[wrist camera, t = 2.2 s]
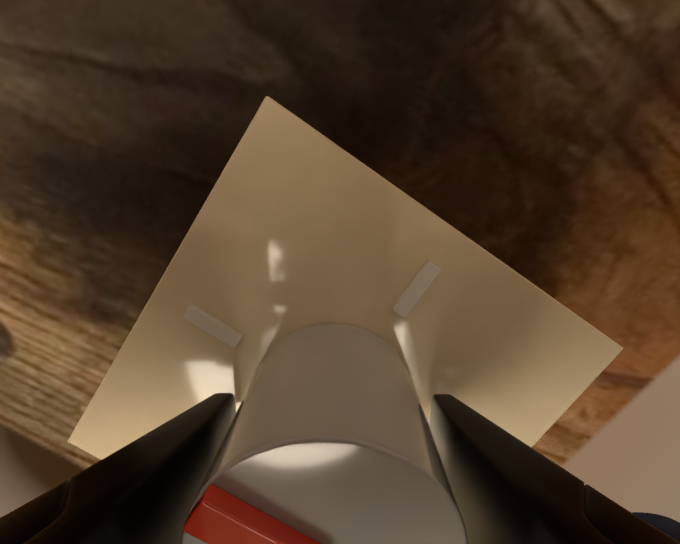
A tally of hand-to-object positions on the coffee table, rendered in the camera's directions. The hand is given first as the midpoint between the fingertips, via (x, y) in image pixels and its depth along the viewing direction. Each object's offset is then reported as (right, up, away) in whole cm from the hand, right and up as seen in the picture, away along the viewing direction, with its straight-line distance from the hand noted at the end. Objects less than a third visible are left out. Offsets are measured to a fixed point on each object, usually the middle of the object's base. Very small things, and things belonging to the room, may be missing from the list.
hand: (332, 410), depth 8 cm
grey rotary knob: (0, 0, 0) cm, 0 cm away
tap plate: (0, +1, +3) cm, 4 cm away
